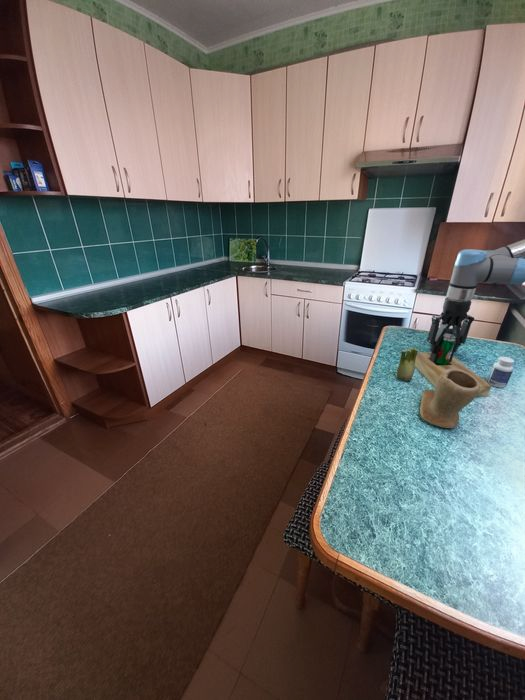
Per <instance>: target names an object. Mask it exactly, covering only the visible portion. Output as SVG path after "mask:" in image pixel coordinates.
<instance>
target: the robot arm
mask: <svg viewBox="0 0 525 700" xmlns="http://www.w3.org/2000/svg"><path fill="white" fill-rule="evenodd" d="M479 283H490V284H506V285H507V284H508V285H522V284H524V283H525V238H524V239H521V240H518V241H516V242H514V243H513V242H512V243H510V244H508V245H505V246H502V247H499V248H497V249H488V250H487V249H486V250H482V249H471V248H469V249H468V248H467V249H461V250H460V251H459V252H458V253H457V256H456V259H455V262H454V264H453V269H452V273H451V277H450V281H449V284H448V288H447V292H446V294H445V296H446V298H445V299H444V302H443V305H442V311H441V313H440V315H437V316H435V315H433V316H431V324H430V329H429V331H428V335H427V339H426V342H427V343H429V344H430V349H429V353H431V355H430V360H431V361H432V362H436V359H437V356H438V352H439V349H440V346H439V343H440V341H441V339H442V338H443V336H444V334H445V332H446V331H447V329H449V328H451V327H452V328H453V329H452V335H454V336H455V337H456V338H455V339H456V342H455V345H454V348H453V351H452V354H451V357H450V360H449V362H451V361H452V358H453V357H454V354H456V353H457V350H458V349H457V347H458V346H459V347H462V344H465V343H466V341H467V339H468V335H469V332H470V329H471V325H472V323H473V322H474V321H475V317H473V316H471V314H468V313H469V312H470V308H471V307H472V306H471V305H472V304H473V303H472V300H473V299H474V296H475V293H476V290H477V288H478V284H479ZM438 328H439V329H438Z"/></svg>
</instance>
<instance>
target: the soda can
mask: <svg viewBox="0 0 525 700" xmlns="http://www.w3.org/2000/svg"><path fill="white" fill-rule="evenodd" d="M455 338H456V337H455V336H454V335H452V334H448V333H445V334H444V336H443V338H442V339H441V341H440V343H439V346H440V349H439V352H438V356H437V359H436V362H433V363H434V364H436V365H448V363H449V360H450V357H451V354H452V351H453V348H454V345H455V342H456V339H455Z"/></svg>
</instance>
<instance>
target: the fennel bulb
mask: <svg viewBox="0 0 525 700" xmlns="http://www.w3.org/2000/svg"><path fill="white" fill-rule="evenodd" d="M417 353H419V349H417V348H412V347H410V348H409V349H407V351H406V350H405V349H402V350H401V353H400V359H399V362H398V366H397V369H396V378H397V379H398V380H400V381H403V382H410V381H412V380H413V377H414V374H415V369H416V367H415V359H416V356H417Z"/></svg>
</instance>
